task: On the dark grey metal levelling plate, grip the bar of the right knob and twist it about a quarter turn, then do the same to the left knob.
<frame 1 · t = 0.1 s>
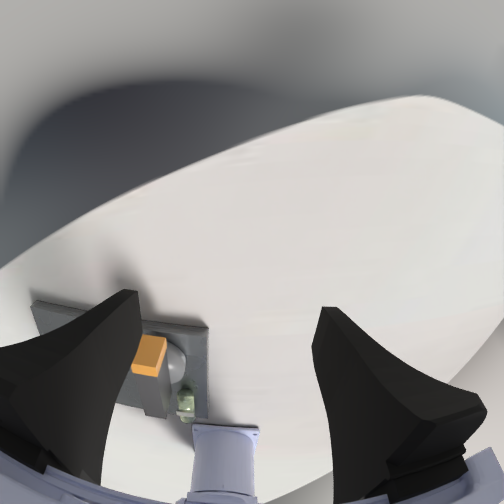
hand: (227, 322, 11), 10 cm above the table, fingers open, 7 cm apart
knob 1: (155, 374, 21), point 3 cm above the table, hinge at 0.0°
levelling plate: (120, 362, 25), on the table
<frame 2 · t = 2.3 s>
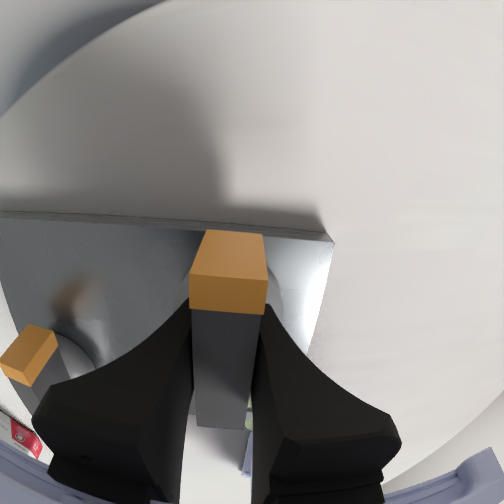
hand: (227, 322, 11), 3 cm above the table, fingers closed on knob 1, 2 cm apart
ink box: (16, 424, 22), on the table
knob 2: (50, 383, 12), point 3 cm above the table, hinge at 0.0°
knob 1: (226, 329, 10), point 3 cm above the table, hinge at 0.0°, touching gripper
levelling plate: (136, 324, 14), on the table
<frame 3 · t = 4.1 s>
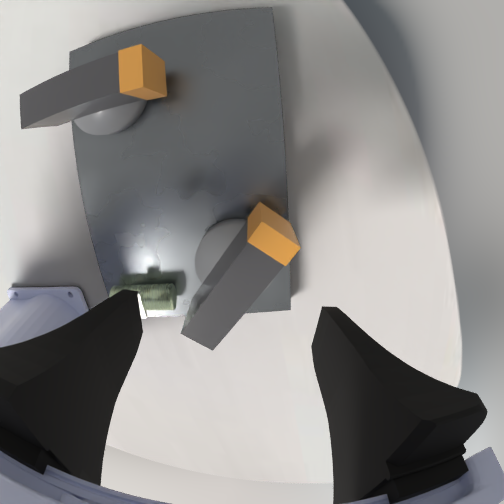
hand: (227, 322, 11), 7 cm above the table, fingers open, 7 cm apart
knob 2: (95, 91, 11), point 3 cm above the table, hinge at 0.0°
knob 1: (236, 272, 14), point 3 cm above the table, hinge at 50.7°
levelling plate: (177, 170, 16), on the table
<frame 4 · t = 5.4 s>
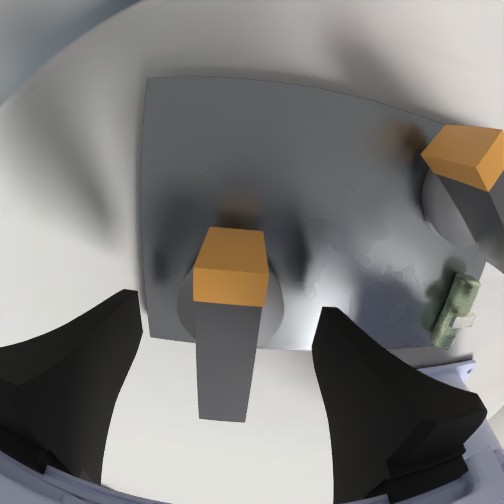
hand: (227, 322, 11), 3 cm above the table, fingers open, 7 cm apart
knob 2: (228, 323, 11), point 3 cm above the table, hinge at 0.0°
knob 1: (485, 204, 9), point 3 cm above the table, hinge at 54.5°
levelling plate: (346, 233, 13), on the table
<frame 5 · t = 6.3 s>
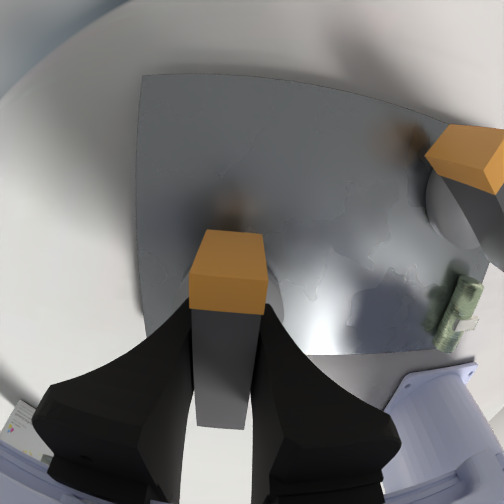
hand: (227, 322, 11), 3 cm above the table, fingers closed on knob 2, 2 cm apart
ink box: (54, 425, 21), on the table
knob 2: (226, 329, 10), point 3 cm above the table, hinge at 0.0°, touching gripper
knob 1: (490, 206, 8), point 3 cm above the table, hinge at 55.4°
levelling plate: (347, 235, 13), on the table
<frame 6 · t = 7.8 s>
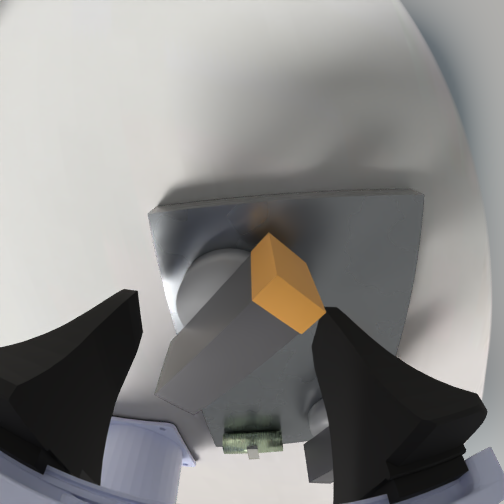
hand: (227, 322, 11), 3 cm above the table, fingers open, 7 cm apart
knob 2: (229, 322, 11), point 3 cm above the table, hinge at 45.0°
knob 1: (348, 434, 14), point 3 cm above the table, hinge at 55.8°
levelling plate: (294, 352, 16), on the table
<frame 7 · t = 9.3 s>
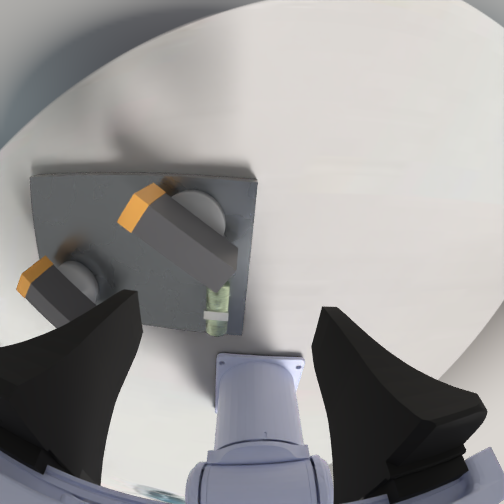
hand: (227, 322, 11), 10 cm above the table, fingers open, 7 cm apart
knob 2: (63, 297, 19), point 3 cm above the table, hinge at 50.0°
knob 1: (183, 232, 17), point 3 cm above the table, hinge at 55.9°
levelling plate: (131, 250, 21), on the table
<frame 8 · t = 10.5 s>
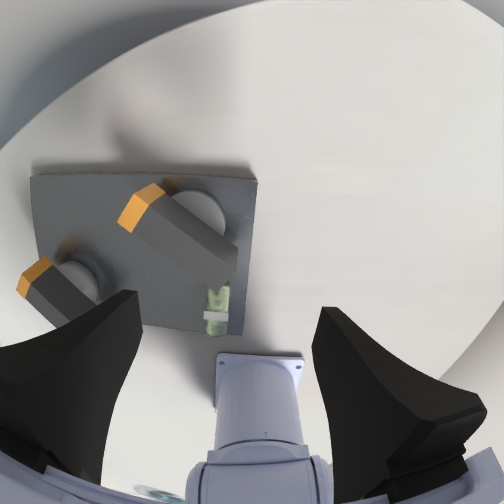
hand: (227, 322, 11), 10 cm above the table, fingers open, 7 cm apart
knob 2: (63, 297, 19), point 3 cm above the table, hinge at 51.0°
knob 1: (183, 232, 17), point 3 cm above the table, hinge at 55.9°
levelling plate: (131, 250, 21), on the table
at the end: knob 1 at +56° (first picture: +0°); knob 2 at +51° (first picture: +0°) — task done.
